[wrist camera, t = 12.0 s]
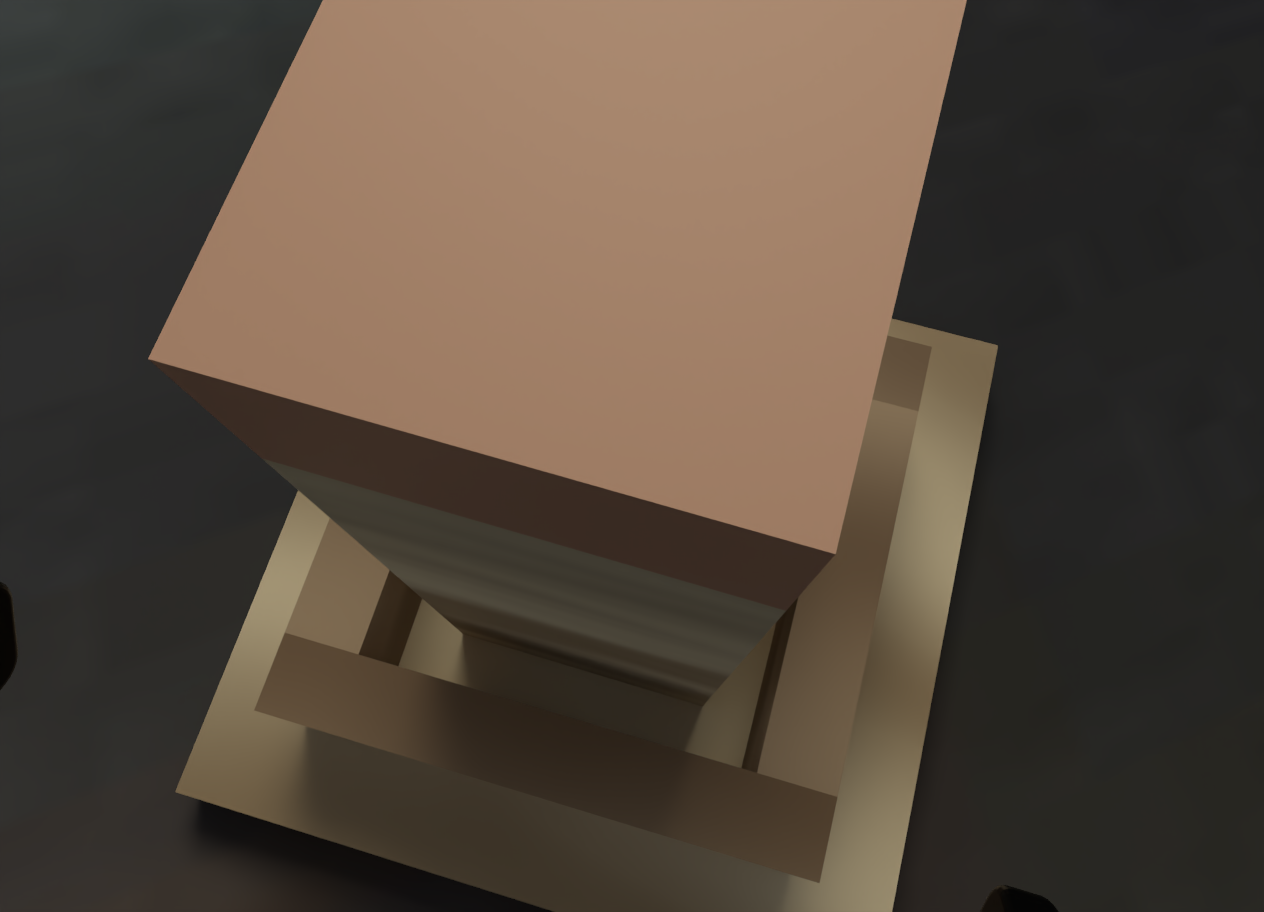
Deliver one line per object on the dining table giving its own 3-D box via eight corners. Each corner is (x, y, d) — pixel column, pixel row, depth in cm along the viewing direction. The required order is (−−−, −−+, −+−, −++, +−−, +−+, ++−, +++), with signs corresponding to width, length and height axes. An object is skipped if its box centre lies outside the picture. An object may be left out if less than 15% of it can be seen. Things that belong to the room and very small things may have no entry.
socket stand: (859, 999, 17) (915, 1053, 13) (199, 791, 18) (99, 793, 14) (980, 365, 20) (1049, 284, 17) (426, 224, 21) (388, 122, 18)
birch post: (702, 705, 17) (835, 555, 6) (462, 634, 18) (147, 358, 6) (764, 473, 19) (972, -22, 7) (540, 411, 19) (398, -153, 8)
